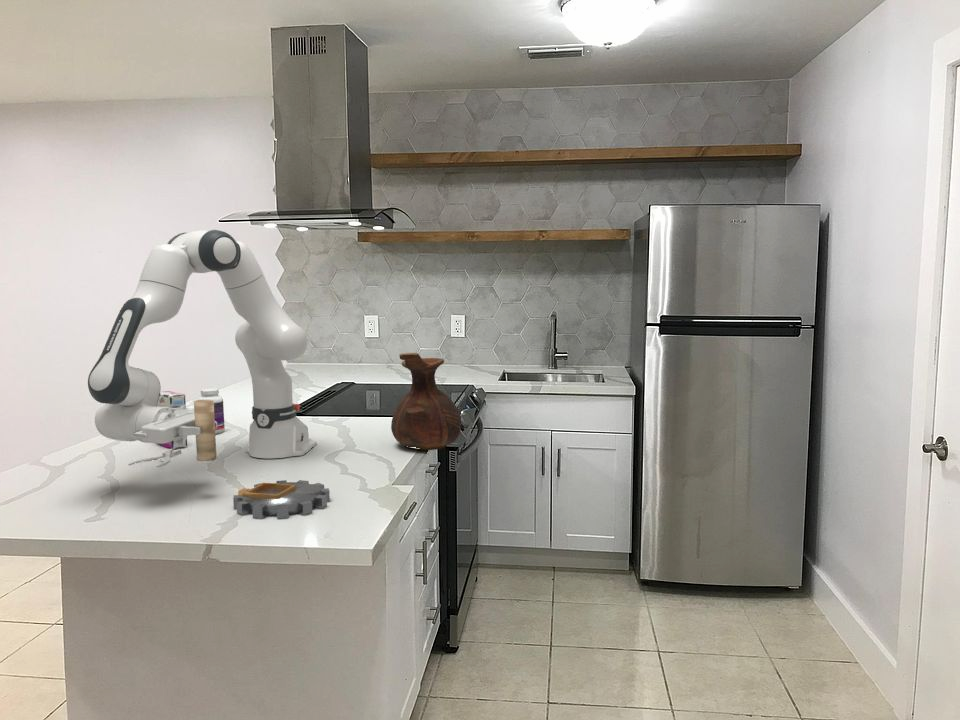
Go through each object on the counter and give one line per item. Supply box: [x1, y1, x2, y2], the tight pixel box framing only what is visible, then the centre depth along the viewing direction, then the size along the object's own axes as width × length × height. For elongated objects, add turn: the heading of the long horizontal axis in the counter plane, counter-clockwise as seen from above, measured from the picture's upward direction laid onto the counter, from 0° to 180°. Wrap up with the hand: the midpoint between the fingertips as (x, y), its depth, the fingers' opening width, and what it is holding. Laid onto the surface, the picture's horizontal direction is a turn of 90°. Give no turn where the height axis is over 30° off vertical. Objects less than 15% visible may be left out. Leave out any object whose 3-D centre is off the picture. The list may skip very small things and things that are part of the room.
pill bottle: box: [197, 387, 226, 435], centre depth 254 cm, size 8×8×14 cm
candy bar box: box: [156, 390, 188, 451], centre depth 236 cm, size 11×5×16 cm, turn 47°
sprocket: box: [232, 479, 331, 520], centre depth 181 cm, size 22×22×3 cm
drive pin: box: [193, 399, 218, 462], centre depth 184 cm, size 4×4×14 cm
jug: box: [390, 352, 462, 451], centre depth 235 cm, size 22×22×30 cm
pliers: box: [128, 448, 182, 468], centre depth 221 cm, size 10×2×15 cm
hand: (208, 428), depth 184 cm, fingers closed on drive pin, 4 cm apart
